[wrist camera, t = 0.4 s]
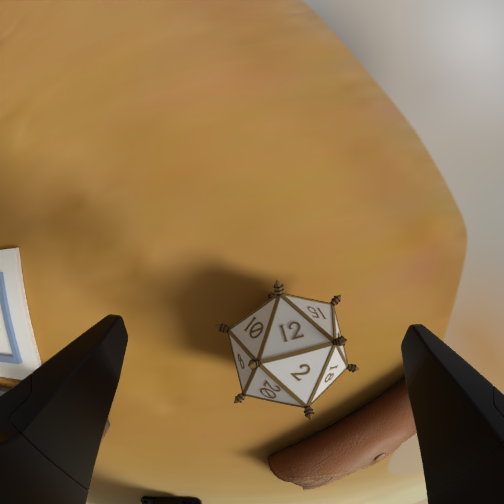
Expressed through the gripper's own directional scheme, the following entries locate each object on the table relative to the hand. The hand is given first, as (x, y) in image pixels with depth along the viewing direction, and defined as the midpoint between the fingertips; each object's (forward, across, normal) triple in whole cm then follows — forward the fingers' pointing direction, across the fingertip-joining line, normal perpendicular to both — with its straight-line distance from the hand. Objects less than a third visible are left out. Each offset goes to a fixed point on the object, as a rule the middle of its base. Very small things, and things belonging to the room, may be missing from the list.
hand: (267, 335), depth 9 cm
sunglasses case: (+8, -11, +21) cm, 25 cm away
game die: (+11, -1, +10) cm, 15 cm away
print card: (+8, +26, +10) cm, 28 cm away
